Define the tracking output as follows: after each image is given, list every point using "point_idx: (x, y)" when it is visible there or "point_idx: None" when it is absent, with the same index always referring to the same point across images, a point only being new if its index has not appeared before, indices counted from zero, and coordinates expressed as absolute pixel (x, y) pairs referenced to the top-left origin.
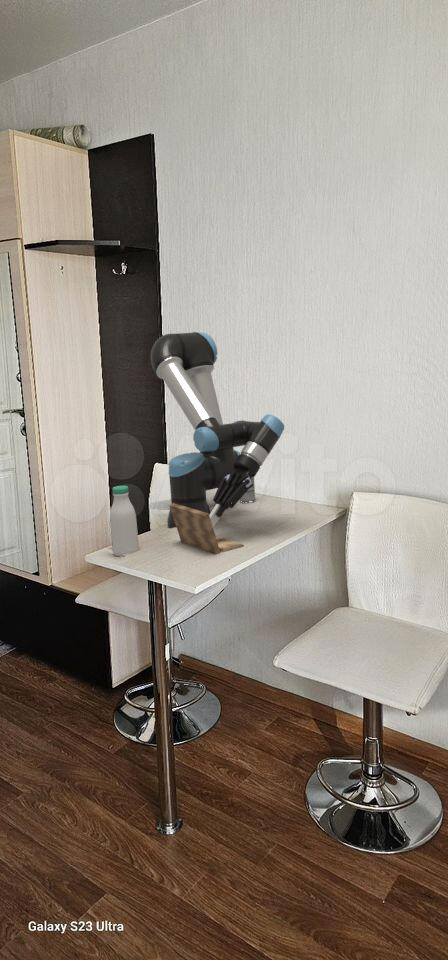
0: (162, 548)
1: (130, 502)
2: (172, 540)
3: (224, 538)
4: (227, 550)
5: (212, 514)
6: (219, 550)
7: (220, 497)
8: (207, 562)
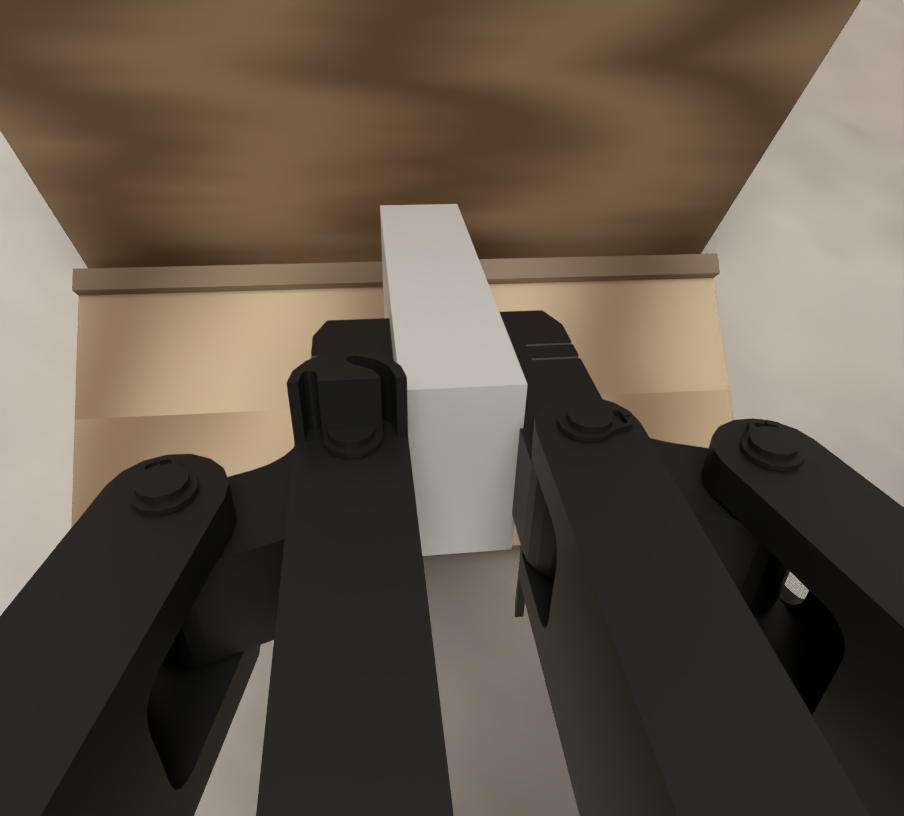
0: None
1: None
2: (849, 232)
3: None
4: (82, 350)
5: (401, 265)
6: (76, 245)
7: (600, 535)
8: None
